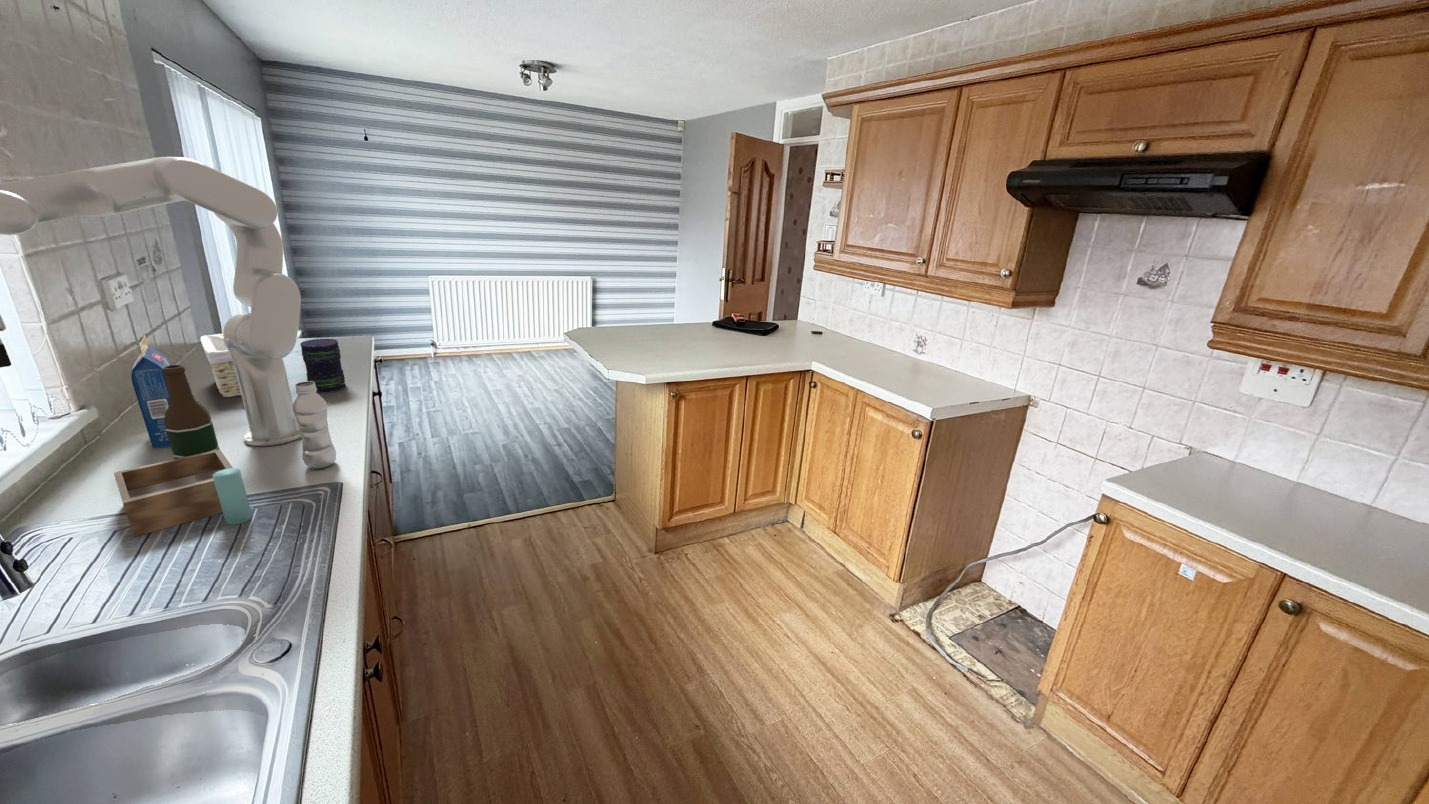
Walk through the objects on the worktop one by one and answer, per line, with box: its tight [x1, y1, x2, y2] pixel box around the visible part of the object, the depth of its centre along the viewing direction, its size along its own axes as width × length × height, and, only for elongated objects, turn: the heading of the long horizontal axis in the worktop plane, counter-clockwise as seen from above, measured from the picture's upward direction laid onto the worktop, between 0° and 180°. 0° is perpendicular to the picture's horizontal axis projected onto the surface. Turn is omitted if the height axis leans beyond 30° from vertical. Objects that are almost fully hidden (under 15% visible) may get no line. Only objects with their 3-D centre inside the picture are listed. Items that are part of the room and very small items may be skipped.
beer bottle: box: [162, 364, 220, 460], centre depth 122 cm, size 8×8×24 cm
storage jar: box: [299, 338, 347, 394], centre depth 176 cm, size 10×10×15 cm
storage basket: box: [200, 333, 242, 398], centre depth 175 cm, size 24×16×15 cm
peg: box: [213, 467, 253, 526], centre depth 107 cm, size 4×4×10 cm
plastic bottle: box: [292, 380, 337, 470], centre depth 127 cm, size 6×7×20 cm
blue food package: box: [130, 334, 171, 449], centre depth 136 cm, size 6×12×25 cm, turn 40°
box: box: [113, 448, 234, 538], centre depth 111 cm, size 16×16×7 cm
